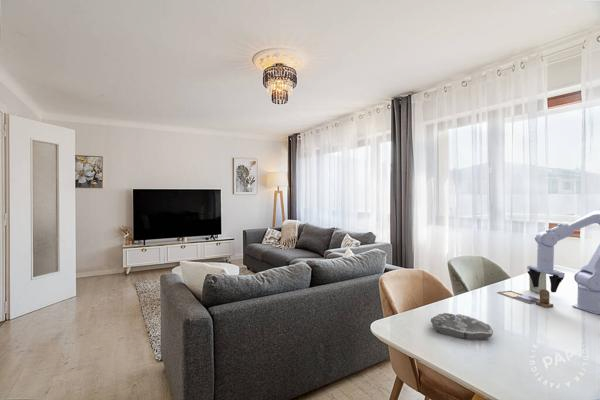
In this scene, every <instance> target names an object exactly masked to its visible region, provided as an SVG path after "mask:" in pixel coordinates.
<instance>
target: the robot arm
mask: <svg viewBox="0 0 600 400" xmlns="http://www.w3.org/2000/svg"><path fill="white" fill-rule="evenodd" d="M592 224H597V225H599V226H600V208H598V209H597V210H594V211H591V212H589V213H587V214H586V215H584V216H582V217H580V218H578V219H576V220H573V221H572V222H569V223H568V224H567V223H557V224H556V226H554V227H551V228H548V229H546V231H539V232H538V233H537V234H536V235H535V237H534V241H535V242H536V244H537V251H536V252H537V254H536V258H537V260H536V265H532V264H527V268H526V270H528V271H527V274H528V276H529V275H530V277H531V280H532V283H533V287H538V285H539V277H540V273H541V272H542V273H546V275H549V276H548V278H549V281H550V282H549V283H550V293H557V290H558V287H559V286H560V284H561V283H562V281H563V280H564V278H565V272H562V271H559V270H556V269H554V264H555V263H554V259H555V258H554V257H555V255H554V254H555V246H556V245H557V244H558V242H560V241H561V240H564V239H566V238H568V237H570V236H573V235H574V233H575V231H577V230H580V229H582V228H583V229H584V227H587V226H591V225H592ZM573 279H574V281H575V282H576V284H577V298H576V299H577V301H576V302H577V303H576V304H572V305H571V306H572V307H574V308H576V309H580V310H582V311H586V312H590V313H592V314H596V315H600V243H599V244H598V246H597V247H596V250H595V251H594V253H593V255H592V256H591V258H590V260H589V261H588V264H586V265H584V266H582V267H581V268H580V269H579V270H578V271H577V272H576V273H575V274H574V276H573Z"/></svg>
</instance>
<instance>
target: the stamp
mask: <svg viewBox="0 0 600 400" xmlns="http://www.w3.org/2000/svg"><path fill="white" fill-rule="evenodd" d="M550 294H551V292H550V291H549V290H547V288H546V289H542V290H540V293H539V299H540V301H537V302H536V303H535V305H536V306H539V307H543V308H545V309H546V308H547V309H548V308H553V307H554V304H553V303H551V302H550Z"/></svg>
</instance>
